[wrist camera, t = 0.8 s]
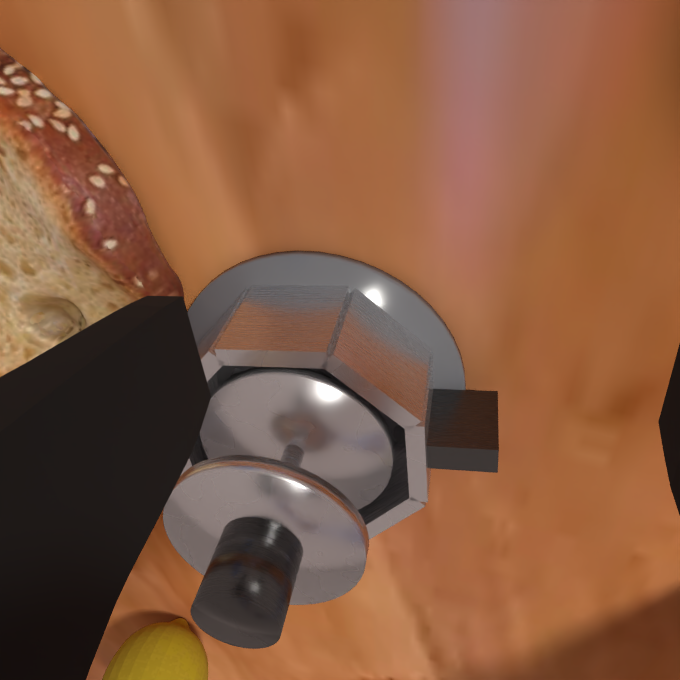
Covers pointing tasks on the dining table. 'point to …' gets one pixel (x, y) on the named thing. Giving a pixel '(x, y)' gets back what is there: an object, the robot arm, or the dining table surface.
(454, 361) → the round metal disc
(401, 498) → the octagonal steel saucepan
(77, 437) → the robot arm
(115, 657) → the lemon
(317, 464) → the silver rounded piece
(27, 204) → the slice of bread
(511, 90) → the dining table surface
